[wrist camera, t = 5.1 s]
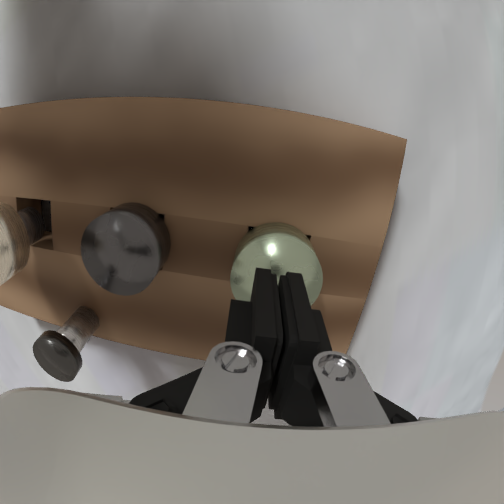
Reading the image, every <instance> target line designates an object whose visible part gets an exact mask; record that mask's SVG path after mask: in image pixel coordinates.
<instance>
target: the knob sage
mask: <svg viewBox="0 0 504 504" xmlns="http://www.w3.org/2000/svg"><path fill="white" fill-rule="evenodd" d="M256 267H257V268H264V269H271V273H272V274H276V275H277V283H279V278H280V275H286V272H294V273H301V274H302V276H303V279H304V283H305V287H306V290H307V294H308V298H309V301H310V305H311V306H312V304H313V303H314V302H315V301H316V299H317V298H318V296H319V294H320V291H321V288H322V283H323V274H322V268H321V265H320V263H319V260H318V258H317V256H316V253H315V251H314V249H313V246H312V244H311V242H310V240H309V239H308V237H307V236H306V235H305V234H304V233H303V232H302V231H300V230H299V229H298V228H296V227H294V226H292V225H289V224H286V223H280V222H271V223H265V224H262V225H259V226H257V227H255V228H253V229H251V230H250V231H249V232H248V233H246V234H245V235H244V237H243V238H242V239H241V241H240V242H239V244H238V246H237V249H236V252H235V257H234V261H233V266H232V270H231V275H230V284H231V289H232V293H233V295H234V297H235V299H236V300H242V301H249V302H250V299H251V293H252V287H253V281H254V275H255V270H256Z"/></svg>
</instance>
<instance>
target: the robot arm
mask: <svg viewBox="0 0 504 504" xmlns="http://www.w3.org/2000/svg"><path fill="white" fill-rule="evenodd" d="M267 398H268V405H269V409H274V417H275V419H283V420H284V421H286V422H287V423H288V424H289V425H288V426H279V425H264V424H251V422H253V421H254V420H256V419H257V418H259V417H260V416H261V413H262V409H264V408H265V405H266V402H267ZM0 504H504V411H489V412H488V411H487V412H478V413H472V414H465V415H458V416H452V417H446V418H427V417H419V419H418V420H417V419H416V417H415V416H413V415H412V414H411V413H409V412H408V411H406V410H404V409H403V408H401V407H399V406H397V405H396V404H394V403H392V402H391V401H389V400H387V399H386V398H384V397H383V396H381V395H379V394H378V393H376V392H374V391H373V390H372V388H371V386H370V384H369V382H368V381H367V379H366V377H365V375H364V373H363V372H362V370H361V368H360V366H359V365H358V363H357V362H356V361H355V360H354V359H353V358H351V357H350V356H348V355H346V354H344V353H341V352H337V351H332V347H331V344H330V340H329V337H328V334H327V330H326V327H325V324H324V320H323V317H322V314H321V311H320V310H316V309H311V305H310V301H309V298H308V294H307V290H306V287H305V283H304V279H303V276H302V274H301V273H294V272H286V275H280V278H279V283H277V275H276V274H272V273H271V269H264V268H257V267H256V270H255V275H254V281H253V287H252V293H251V299H250V302H249V301H242V300H234V299H231V302H230V309H229V316H228V322H227V329H226V336H225V342H223V343H220V344H218V345H216V346H215V347H213V348H212V350H211V351H210V353H209V355H208V357H207V359H206V362H205V364H204V366H203V367H202V368H200V369H198V370H196V371H193V372H191V373H189V374H187V375H184V376H182V377H180V378H178V379H175V380H173V381H171V382H168V383H166V384H164V385H161V386H159V387H157V388H154V389H152V390H149V391H147V392H144V393H142V394H140V395H138V396H136V397H134V398H133V399H132V400H123V399H122V396H112V395H100V394H90V393H81V392H75V391H71V390H64V389H56V388H43V387H26V388H17V389H12V390H9V391H7V392H4V393H3V394H1V395H0Z"/></svg>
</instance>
